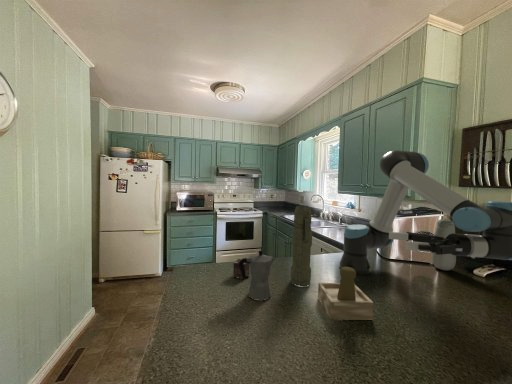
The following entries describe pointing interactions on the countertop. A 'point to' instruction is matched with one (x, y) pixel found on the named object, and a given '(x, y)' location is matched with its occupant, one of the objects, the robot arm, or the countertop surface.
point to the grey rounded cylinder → (444, 230)
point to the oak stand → (344, 303)
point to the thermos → (301, 246)
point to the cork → (347, 284)
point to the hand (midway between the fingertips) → (397, 240)
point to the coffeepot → (258, 275)
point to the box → (237, 269)
